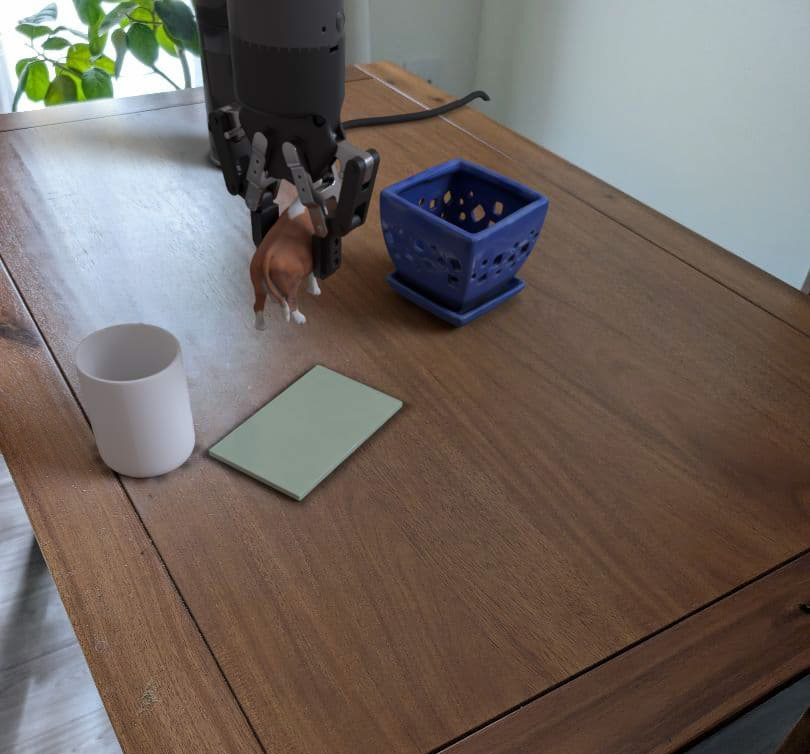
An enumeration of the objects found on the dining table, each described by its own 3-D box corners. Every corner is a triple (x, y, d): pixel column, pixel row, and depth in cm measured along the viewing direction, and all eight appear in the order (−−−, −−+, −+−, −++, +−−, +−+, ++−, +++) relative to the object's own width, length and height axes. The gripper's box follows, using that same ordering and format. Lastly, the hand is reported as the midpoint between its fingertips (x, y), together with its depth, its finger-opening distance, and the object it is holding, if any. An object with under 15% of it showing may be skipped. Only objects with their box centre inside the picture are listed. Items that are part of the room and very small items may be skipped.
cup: (93, 481, 73) (64, 383, 65) (112, 394, 81) (89, 299, 73) (193, 479, 73) (176, 382, 66) (202, 393, 82) (187, 298, 74)
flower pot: (537, 299, 96) (556, 195, 88) (461, 345, 89) (473, 237, 81) (448, 254, 102) (458, 153, 94) (370, 294, 95) (373, 189, 87)
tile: (318, 369, 85) (317, 364, 85) (402, 406, 82) (402, 401, 81) (209, 455, 76) (208, 450, 75) (299, 501, 72) (299, 496, 72)
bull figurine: (353, 268, 74) (354, 174, 68) (288, 350, 65) (282, 250, 59) (307, 257, 75) (303, 164, 69) (236, 337, 66) (225, 237, 60)
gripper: (164, 11, 56) (196, 254, 68) (343, 64, 51) (342, 315, 63) (239, -12, 60) (257, 219, 73) (411, 34, 55) (398, 273, 68)
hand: (297, 262), depth 68 cm, fingers closed on bull figurine, 5 cm apart
